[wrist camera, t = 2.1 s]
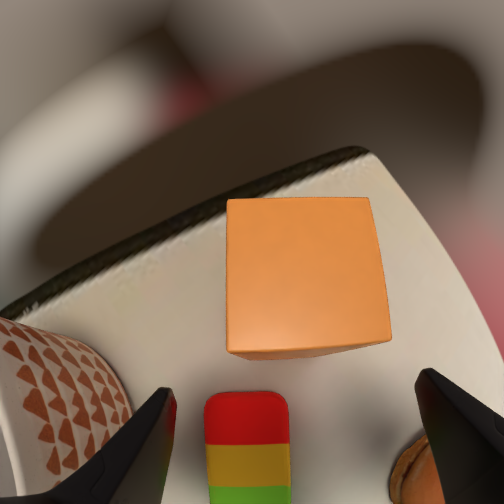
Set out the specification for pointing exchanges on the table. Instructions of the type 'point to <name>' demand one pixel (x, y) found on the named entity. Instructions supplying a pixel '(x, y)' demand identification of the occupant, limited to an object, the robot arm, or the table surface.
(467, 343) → the table surface
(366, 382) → the table surface
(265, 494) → the popsicle
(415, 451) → the burger
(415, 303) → the table surface
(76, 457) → the vase
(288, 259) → the juice carton
